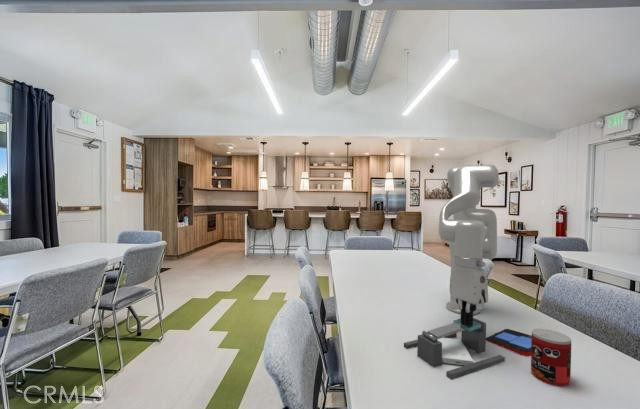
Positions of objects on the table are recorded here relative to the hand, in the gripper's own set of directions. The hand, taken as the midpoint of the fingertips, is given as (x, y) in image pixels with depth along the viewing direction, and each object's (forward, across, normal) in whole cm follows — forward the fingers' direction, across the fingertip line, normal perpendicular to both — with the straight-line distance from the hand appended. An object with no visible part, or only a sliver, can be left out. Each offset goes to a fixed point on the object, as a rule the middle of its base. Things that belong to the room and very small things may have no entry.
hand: (466, 323), depth 85 cm
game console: (+9, -2, -20) cm, 22 cm away
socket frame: (+8, +1, +5) cm, 10 cm away
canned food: (+8, -18, -9) cm, 21 cm away
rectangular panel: (+2, +1, +6) cm, 6 cm away
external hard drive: (+8, +1, +5) cm, 10 cm away
